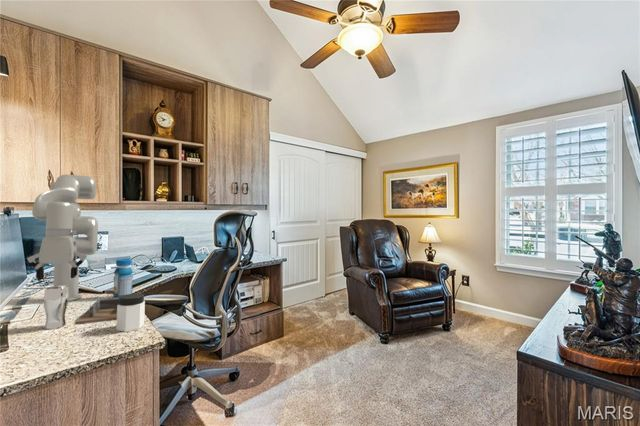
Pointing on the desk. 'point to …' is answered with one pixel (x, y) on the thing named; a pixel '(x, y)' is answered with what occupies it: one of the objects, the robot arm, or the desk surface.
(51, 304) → the beer glass
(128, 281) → the beverage bottle
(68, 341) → the desk surface
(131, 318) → the jar
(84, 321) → the u rest
